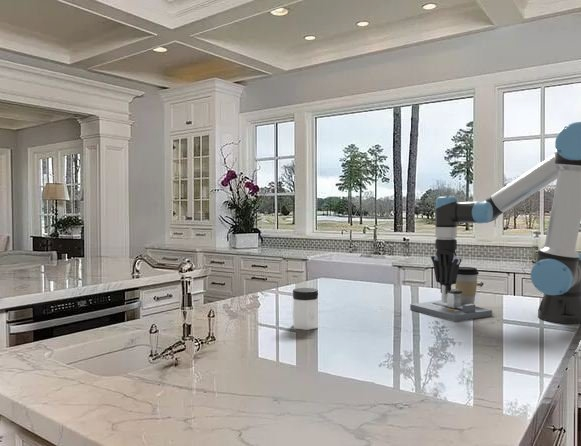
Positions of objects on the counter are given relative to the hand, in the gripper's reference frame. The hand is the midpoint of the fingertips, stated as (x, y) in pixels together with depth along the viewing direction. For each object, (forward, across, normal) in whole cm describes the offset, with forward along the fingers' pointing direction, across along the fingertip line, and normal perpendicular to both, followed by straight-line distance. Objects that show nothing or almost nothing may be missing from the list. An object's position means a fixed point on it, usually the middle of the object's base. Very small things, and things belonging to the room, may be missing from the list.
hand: (445, 302), depth 181 cm
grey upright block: (+1, -4, 0) cm, 4 cm away
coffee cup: (+4, +2, -13) cm, 13 cm away
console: (+3, -2, 0) cm, 4 cm away
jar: (+3, +5, +57) cm, 57 cm away
